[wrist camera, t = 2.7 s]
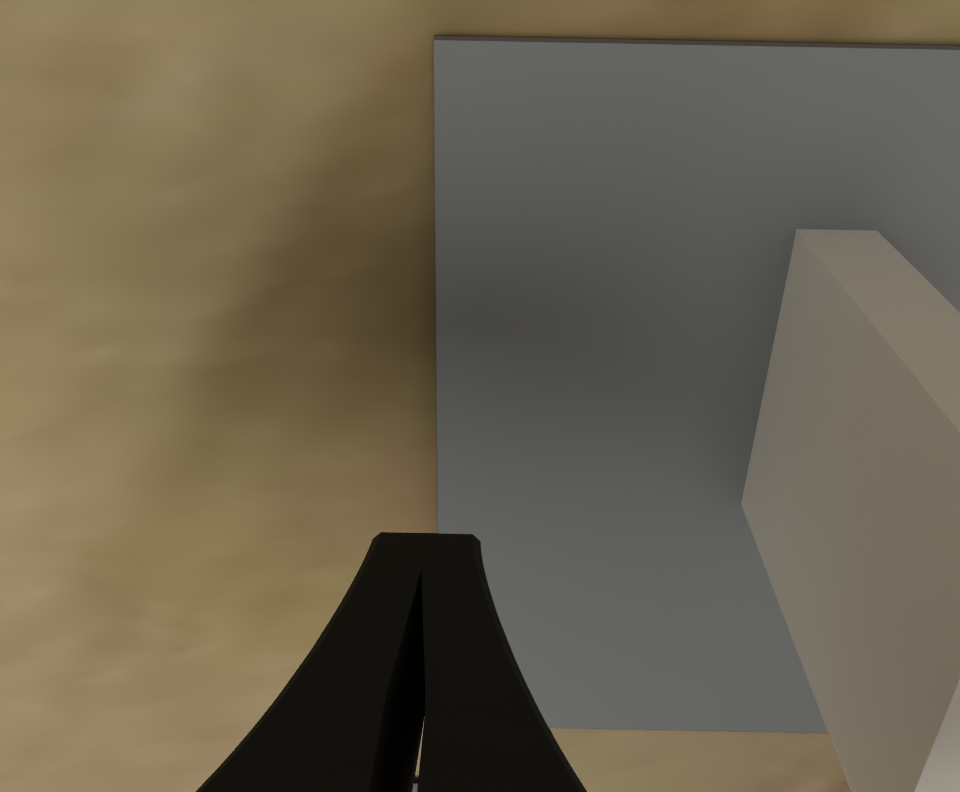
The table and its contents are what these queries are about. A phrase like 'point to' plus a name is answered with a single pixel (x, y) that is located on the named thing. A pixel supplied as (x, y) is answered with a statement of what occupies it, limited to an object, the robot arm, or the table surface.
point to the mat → (652, 337)
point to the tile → (866, 504)
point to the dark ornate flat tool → (415, 787)
